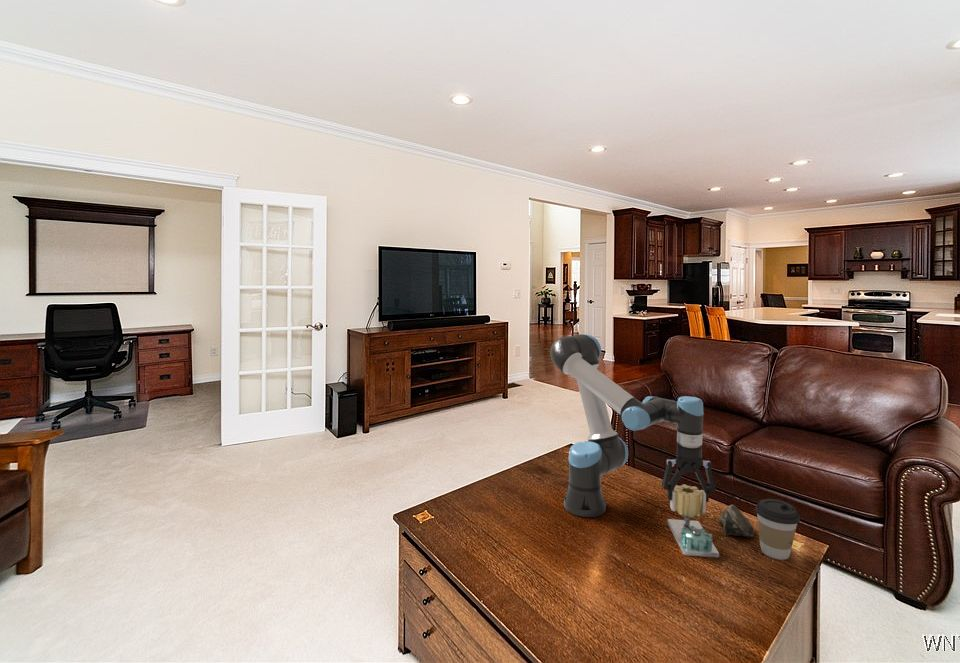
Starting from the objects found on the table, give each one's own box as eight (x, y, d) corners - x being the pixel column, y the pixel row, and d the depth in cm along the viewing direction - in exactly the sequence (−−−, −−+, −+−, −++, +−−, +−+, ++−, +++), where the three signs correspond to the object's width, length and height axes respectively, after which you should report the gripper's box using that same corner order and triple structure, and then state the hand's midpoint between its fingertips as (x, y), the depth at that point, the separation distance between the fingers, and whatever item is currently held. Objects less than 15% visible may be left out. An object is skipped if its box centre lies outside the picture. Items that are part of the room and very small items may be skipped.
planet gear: (667, 509, 145) (668, 489, 144) (682, 501, 150) (682, 482, 150) (693, 520, 138) (694, 499, 137) (707, 511, 143) (708, 491, 142)
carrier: (683, 555, 132) (684, 535, 131) (667, 523, 150) (667, 505, 149) (718, 557, 131) (719, 537, 130) (698, 525, 148) (698, 507, 148)
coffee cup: (799, 569, 125) (802, 519, 123) (753, 556, 131) (755, 509, 129) (796, 548, 134) (799, 502, 133) (752, 537, 140) (755, 493, 139)
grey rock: (762, 541, 137) (747, 514, 137) (733, 551, 140) (718, 524, 140) (749, 522, 148) (735, 496, 148) (722, 531, 150) (709, 506, 150)
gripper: (657, 447, 140) (656, 513, 142) (729, 449, 137) (726, 517, 139) (652, 439, 147) (650, 502, 150) (720, 441, 144) (717, 506, 146)
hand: (687, 509), depth 144 cm, fingers closed on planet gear, 9 cm apart
